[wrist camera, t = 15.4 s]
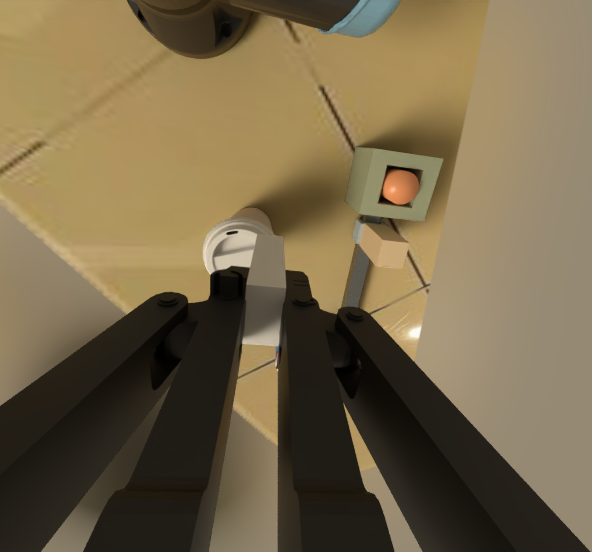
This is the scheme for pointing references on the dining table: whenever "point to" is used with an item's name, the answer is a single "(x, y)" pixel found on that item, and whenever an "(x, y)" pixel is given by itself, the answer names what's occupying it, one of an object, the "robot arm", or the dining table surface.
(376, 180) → the green square holder
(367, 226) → the carriage
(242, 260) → the coffee cup
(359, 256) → the rail
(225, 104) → the dining table surface
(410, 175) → the orange rounded piece
